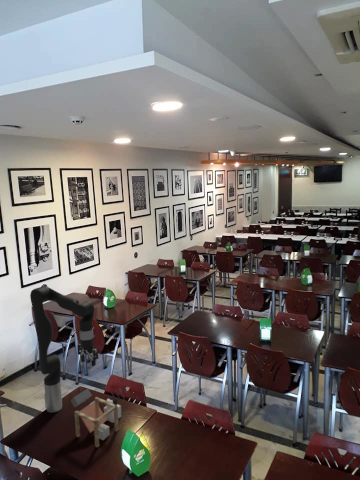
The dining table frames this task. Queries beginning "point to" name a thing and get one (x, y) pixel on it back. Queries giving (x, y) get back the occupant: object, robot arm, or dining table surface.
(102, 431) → the light gray cube
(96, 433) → the stand
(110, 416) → the medicine bottle
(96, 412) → the trapdoor
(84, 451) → the dining table surface
